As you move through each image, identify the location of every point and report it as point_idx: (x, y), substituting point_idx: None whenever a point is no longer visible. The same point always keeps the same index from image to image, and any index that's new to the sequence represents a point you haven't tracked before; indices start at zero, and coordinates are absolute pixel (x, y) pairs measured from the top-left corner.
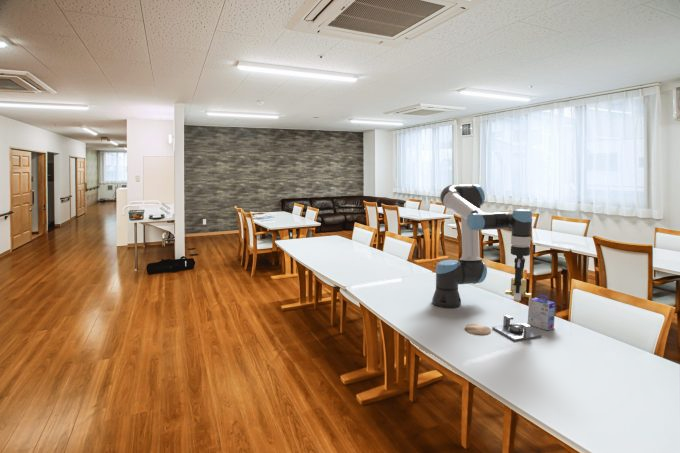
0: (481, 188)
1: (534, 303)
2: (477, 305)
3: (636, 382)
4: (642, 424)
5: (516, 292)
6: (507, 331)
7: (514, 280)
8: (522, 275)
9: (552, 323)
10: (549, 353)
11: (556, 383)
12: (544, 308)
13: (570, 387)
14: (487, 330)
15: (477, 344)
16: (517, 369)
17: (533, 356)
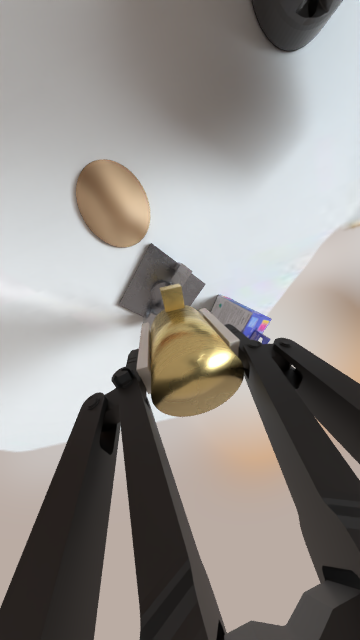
0: None
1: (239, 323)
2: (299, 136)
3: None
4: (33, 438)
5: (131, 355)
6: (147, 281)
7: (158, 383)
8: (256, 403)
9: None
10: (118, 353)
11: (29, 385)
12: None
13: (38, 395)
14: (124, 238)
15: (27, 244)
16: (8, 344)
17: (86, 343)
